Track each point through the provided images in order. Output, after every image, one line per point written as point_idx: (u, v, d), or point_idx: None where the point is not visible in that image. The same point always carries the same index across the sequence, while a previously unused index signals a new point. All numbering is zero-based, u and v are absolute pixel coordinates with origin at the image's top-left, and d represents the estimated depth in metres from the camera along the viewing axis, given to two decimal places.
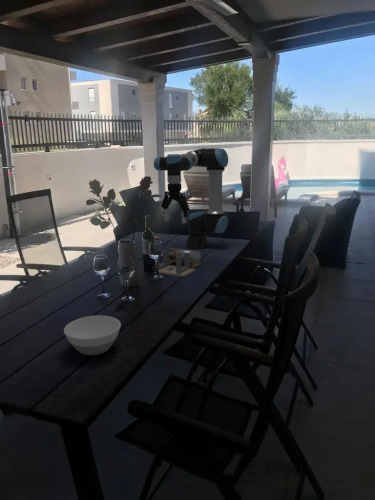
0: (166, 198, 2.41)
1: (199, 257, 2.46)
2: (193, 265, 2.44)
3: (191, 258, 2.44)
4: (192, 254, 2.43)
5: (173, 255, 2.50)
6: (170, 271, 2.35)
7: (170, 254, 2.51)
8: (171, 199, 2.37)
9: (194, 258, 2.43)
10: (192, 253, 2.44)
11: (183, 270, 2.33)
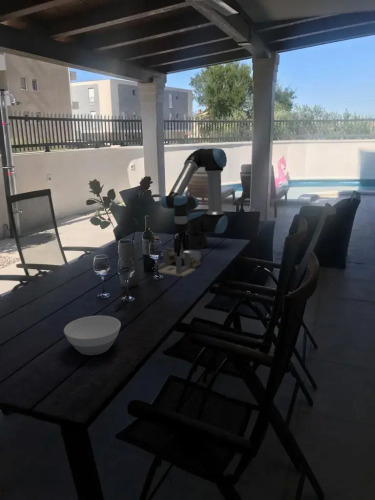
0: (185, 238, 2.52)
1: (199, 257, 2.46)
2: (193, 265, 2.44)
3: (191, 258, 2.44)
4: (192, 254, 2.43)
5: (173, 255, 2.50)
6: (170, 271, 2.35)
7: (170, 254, 2.51)
8: None
9: (194, 258, 2.43)
10: (192, 253, 2.44)
11: (183, 270, 2.33)
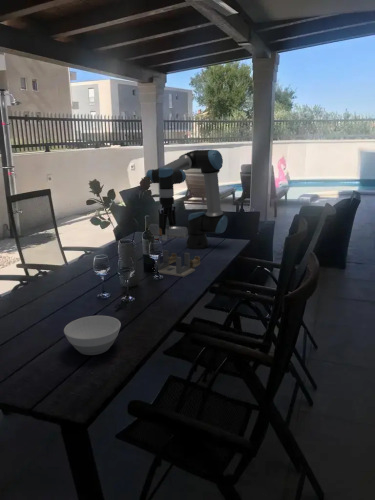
0: (172, 213, 2.36)
1: (186, 233, 2.30)
2: (193, 265, 2.44)
3: (177, 234, 2.28)
4: (179, 230, 2.27)
5: (158, 232, 2.34)
6: (170, 271, 2.35)
7: (155, 231, 2.35)
8: None
9: (180, 234, 2.27)
10: (178, 228, 2.28)
11: (183, 270, 2.33)
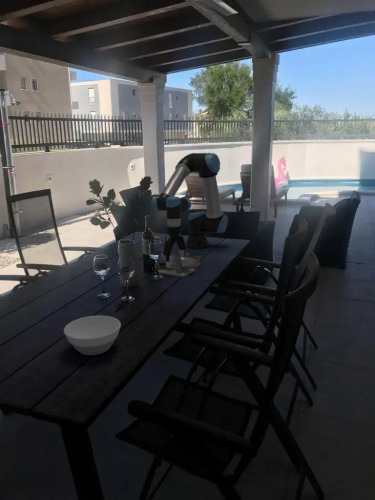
0: (180, 239, 2.39)
1: (194, 264, 2.33)
2: None
3: (185, 265, 2.30)
4: (186, 261, 2.29)
5: None
6: (170, 271, 2.35)
7: (162, 261, 2.37)
8: None
9: (188, 265, 2.29)
10: (186, 260, 2.30)
11: (183, 270, 2.33)
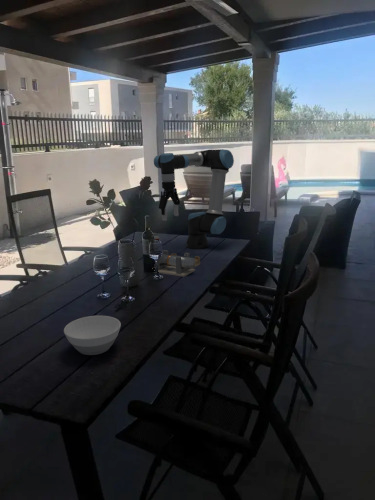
0: (174, 194, 2.51)
1: (194, 264, 2.33)
2: None
3: (185, 265, 2.30)
4: (186, 262, 2.29)
5: (166, 262, 2.36)
6: (170, 271, 2.35)
7: (162, 261, 2.37)
8: None
9: (188, 265, 2.29)
10: (186, 260, 2.30)
11: (183, 270, 2.33)
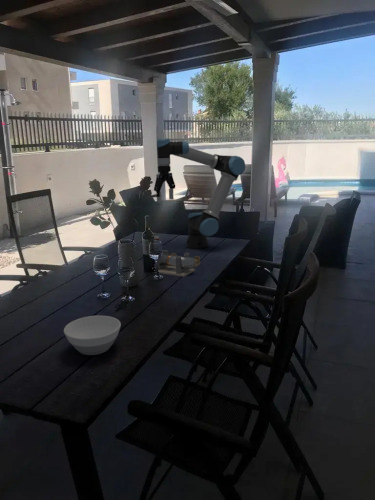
0: (170, 179, 2.64)
1: (194, 264, 2.33)
2: None
3: (185, 265, 2.30)
4: (186, 261, 2.29)
5: (166, 262, 2.36)
6: (170, 271, 2.35)
7: (162, 261, 2.37)
8: None
9: (188, 265, 2.29)
10: (186, 260, 2.30)
11: (183, 270, 2.33)
